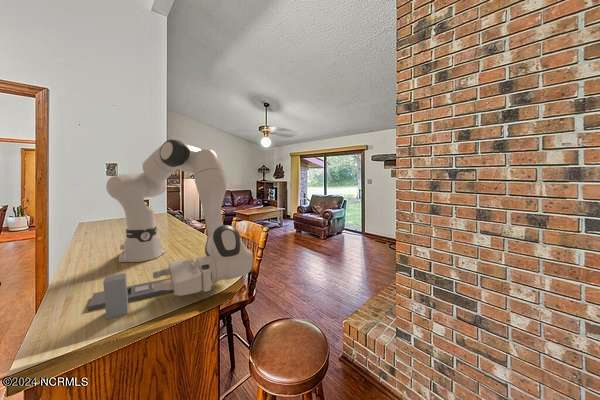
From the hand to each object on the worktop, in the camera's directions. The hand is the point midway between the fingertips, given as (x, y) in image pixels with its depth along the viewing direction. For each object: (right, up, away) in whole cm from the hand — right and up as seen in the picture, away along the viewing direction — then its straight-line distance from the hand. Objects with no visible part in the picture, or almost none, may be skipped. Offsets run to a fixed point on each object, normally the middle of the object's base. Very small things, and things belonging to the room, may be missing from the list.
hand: (153, 281), depth 70 cm
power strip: (-9, -7, +7) cm, 14 cm away
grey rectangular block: (-7, -8, -4) cm, 12 cm away
